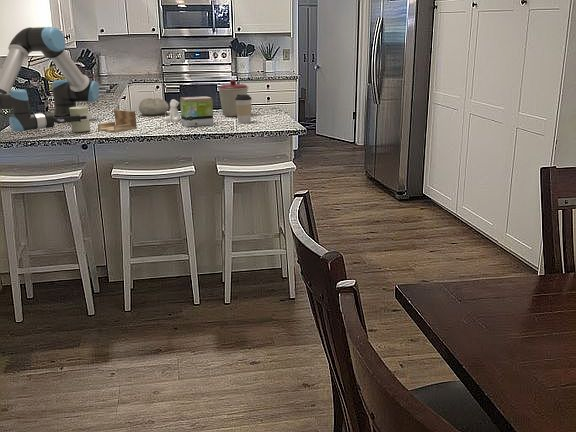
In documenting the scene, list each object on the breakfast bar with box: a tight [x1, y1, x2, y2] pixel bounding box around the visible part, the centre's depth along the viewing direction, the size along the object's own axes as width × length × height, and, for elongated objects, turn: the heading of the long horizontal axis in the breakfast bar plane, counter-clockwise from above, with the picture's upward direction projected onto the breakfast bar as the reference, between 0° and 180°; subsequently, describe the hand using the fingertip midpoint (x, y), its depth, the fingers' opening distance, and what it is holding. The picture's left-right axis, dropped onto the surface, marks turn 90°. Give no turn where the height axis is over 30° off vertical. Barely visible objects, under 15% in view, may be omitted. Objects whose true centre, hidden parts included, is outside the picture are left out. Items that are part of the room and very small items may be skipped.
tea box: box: [179, 95, 214, 128], centre depth 318 cm, size 15×10×15 cm, turn 117°
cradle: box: [97, 109, 138, 134], centre depth 308 cm, size 14×14×9 cm
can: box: [69, 106, 91, 133], centre depth 303 cm, size 9×9×12 cm
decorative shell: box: [138, 97, 170, 116], centre depth 358 cm, size 18×18×10 cm
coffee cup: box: [235, 94, 252, 124], centre depth 323 cm, size 9×9×15 cm
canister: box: [217, 78, 250, 118], centre depth 347 cm, size 18×18×21 cm
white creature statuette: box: [162, 98, 181, 123], centre depth 333 cm, size 10×9×12 cm
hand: (88, 115), depth 305 cm, fingers closed on can, 9 cm apart
